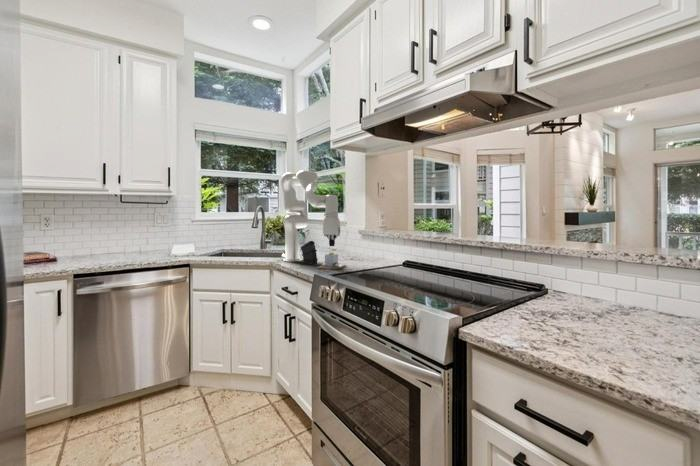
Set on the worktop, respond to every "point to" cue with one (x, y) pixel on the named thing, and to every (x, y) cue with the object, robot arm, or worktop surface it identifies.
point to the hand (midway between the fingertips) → (331, 246)
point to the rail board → (335, 266)
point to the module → (331, 259)
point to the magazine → (309, 253)
